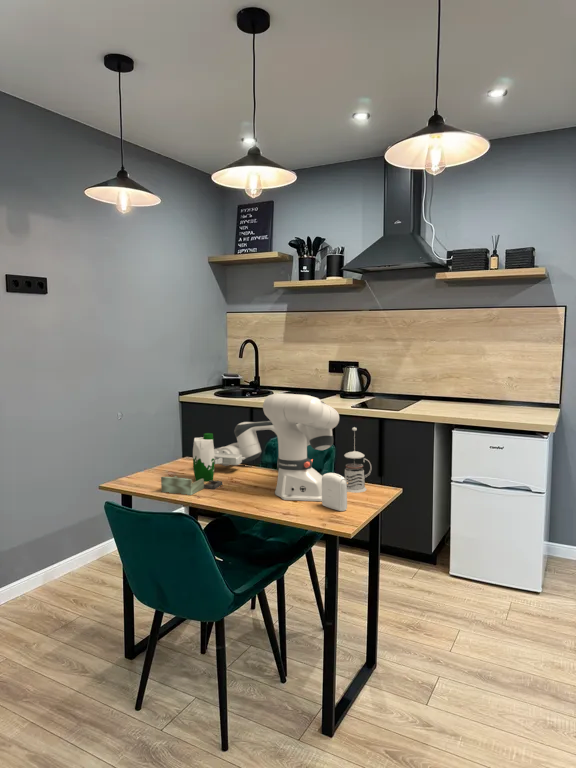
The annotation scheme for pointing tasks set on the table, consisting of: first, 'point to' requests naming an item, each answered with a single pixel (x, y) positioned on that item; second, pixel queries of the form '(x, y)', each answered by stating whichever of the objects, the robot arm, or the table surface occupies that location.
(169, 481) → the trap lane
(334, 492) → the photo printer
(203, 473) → the soya milk
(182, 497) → the table surface
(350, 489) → the french press
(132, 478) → the table surface
